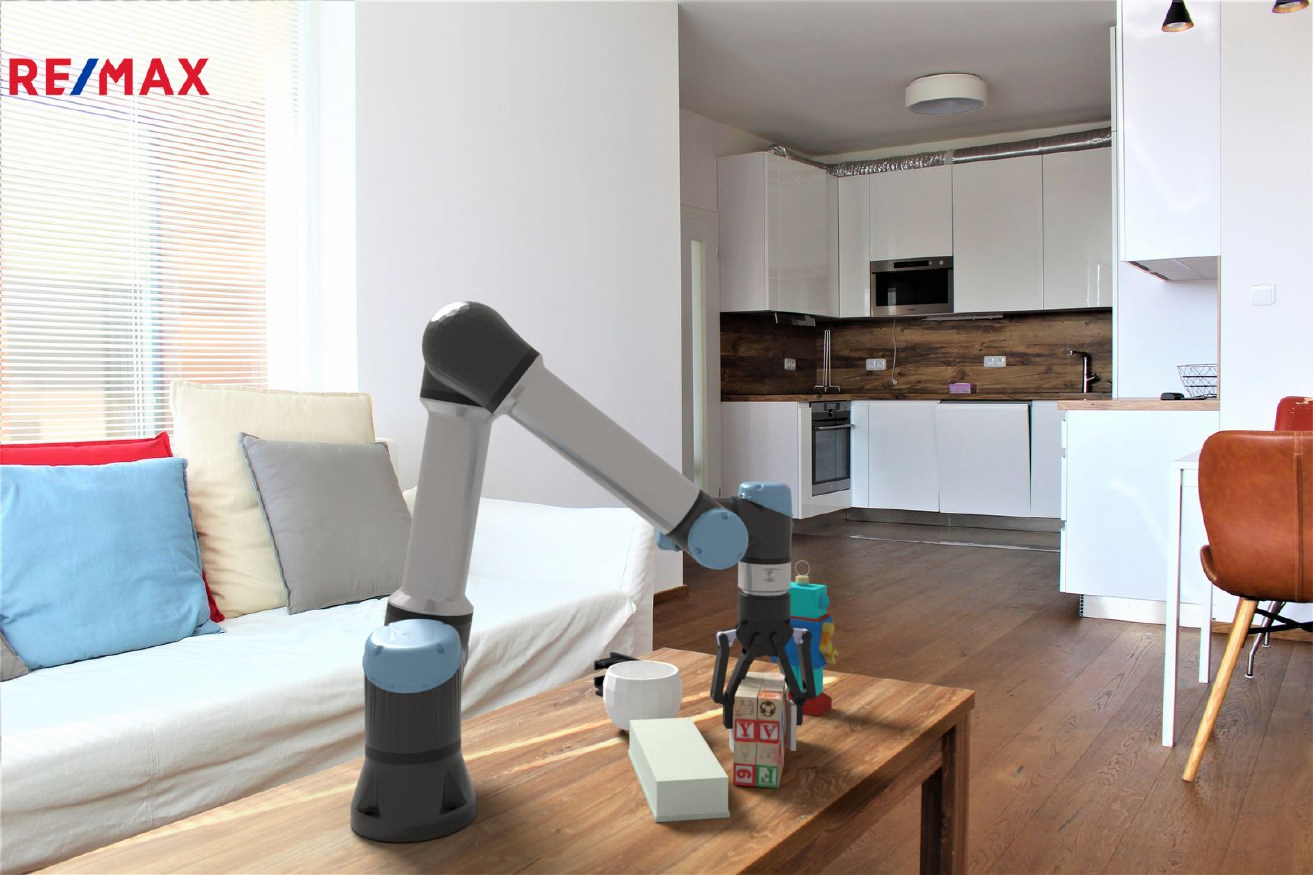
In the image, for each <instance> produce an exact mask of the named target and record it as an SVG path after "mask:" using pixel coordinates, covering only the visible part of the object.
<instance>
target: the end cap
mask: <svg viewBox="0 0 1313 875" xmlns="http://www.w3.org/2000/svg"><path fill="white" fill-rule="evenodd" d="M609 655H610V656H609V657H606V658H602V659H601V658H600V659H598V660H597V659H596V660H594V662H593V671H599V670H604V669H606V671H607V670H608V668H609V667H610V666H612V665H615V664H617V663H622V662H628V661H644V660H643V659H639V658H636V657H634V656H630V655H626V654H622V653H619V652H616V651H610V652H609ZM605 675H606V673H605V674H603V675H598V676H594V677H593V685H594V686H593V687H594V688H596V689H597V690H595V691H594V692H595V695H596V696H600V697H602V698H603V682H604V679H605Z"/></svg>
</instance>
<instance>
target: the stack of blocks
mask: <svg viewBox="0 0 1313 875" xmlns="http://www.w3.org/2000/svg"><path fill="white" fill-rule="evenodd" d="M786 700H789V698H788V688H787V685H786V683H785V676H784V675H783V674H782V673H780V672H779V673H777V672H776V673H775V672H759V671H758V672H757V671H748V672H747V675H746V677H745V679H742V681H741V683H740V684H739V687H738V690H737V692H736V694H735V712H734V715H735V718H734V753H733V762H732V766H733V767H732V772H733V773H732V784H733V785H734V786H747V787H759V788H760V787H761V788H768V789H769V788H771V789H772V788H773V789H778V788H779V787H780V783H781V782H780V781H781V780H782V776H783V774H782V773H783V769H784V759H785V751H786V749H787V746H786Z"/></svg>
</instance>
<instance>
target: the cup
mask: <svg viewBox="0 0 1313 875" xmlns="http://www.w3.org/2000/svg"><path fill="white" fill-rule="evenodd" d="M605 674H606V675H605ZM605 674H604V675H605V679H604V682H603V697H602V699H603V704H604V706H605V710H606V713H607V716H608V718H609V719H610V721H611V722H612V723H613V726H615V727H617V728H618V729H621V730H624V733H625V734H627V735H629V731H630V720H646V719H666V718H678V717H677V716H678V715H679V711H680V709H681V705H682V702H683V681H682V677H681V673H680V669H679V668H678V667H676V665H673V664H671V663H667V662H663V661H656V660H643V661H628V662H622V663H617V664H615V665H612V666H610V667H609V668H608V670H607V669H606V672H605Z"/></svg>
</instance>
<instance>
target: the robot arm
mask: <svg viewBox="0 0 1313 875" xmlns="http://www.w3.org/2000/svg"><path fill="white" fill-rule="evenodd" d="M421 351H422V357H423V361H424V366H423V367H424V368H423V372H422V380H421V386H420V392H419V401H420V403H421V404H422V405H423V406H424V408H425V409H426V411H427V414H428V416H427V422H426V429H425V435H424V443H423V448H422V454H421V460H420V467H419V472H418V473H419V474H418V479H417V480H418V481H417V485H416V492H415V493H416V494H415V498H414V505H413V512H412V518H411V524H410V531H409V538H408V545H407V550H406V556H405V563H404V568H403V569H404V570H403V575H402V580H401V581H402V582H401V586H400V587H399V588H398V589H397V590H396V591H394V592H393V593H392V594H390V595H389V596H388V599H387V604H386V610H385V616H384V622H383V623H384V624H383V626H379V627H378V628H376V629H374V630H373V631H372V632H371V633H369V635H368V637H367V638H366V640H365V643H364V651H363V656H362V661H361V662H362V665H361V666H362V669H363V676H364V677H363V678H364V682H363V686H364V761H363V765H362V768H361V770H360V774H359V778H358V781H357V782H356V786H355V789H354V792H353V796H352V800H351V802H350V827H351V828H352V830H353V831H354V832H355V833H356V834H358V835H360V836H361V837H365V838H367V839H371V840H374V841H381V842H386V843H387V842H388V843H410V842H421V841H427V840H428V841H429V840H432V839H436V838H440V837H444V836H446V835H447V836H448V835H449V834H452V833H455V832H457V831H459V830H462V829H463V828H464V827H466V826H467V825H469V824H470V823H471V822H472V821H473V820H474V818H475V816H476V814H477V813H476V812H477V811H476V810H477V806H476V805H477V796H476V792H475V791H476V790H475V788H474V785H473V782H472V780H471V779H472V778H471V776H470V774H469V770H468V768H467V765H466V762H465V759H464V756H463V750H462V686H463V678H464V672H465V669H466V666H467V662H468V659H469V651H470V649H469V648H470V646H469V644H470V637H471V631H472V623H473V616H474V610H475V608H474V605H473V604H472V602H471V601H470V599H469V598H467V595H466V590H467V584H468V578H469V571H470V565H471V559H472V553H473V552H472V551H473V545H474V539H475V534H476V526H477V522H478V515H479V509H480V508H479V507H480V501H481V496H482V490H483V489H482V488H483V483H484V476H485V471H486V462H487V457H488V450H489V445H490V439H491V438H490V437H491V432H492V426H493V423H494V422H495V421H496V420H497V419H499V417H502V416H508V417H509V418H510V419H512V420H513V421H514V422H516V423H517V424H518V425H520V426H521V427H523V428H524V429H525V430H526V431H528V432H529V433H530V434H532V436H534V437H536V439H538V440H539V441H541V442H542V443H544V444H545V445H546V446H547V447H548V448H549V449H551V450H553V451H554V452H555V453H556V454H558V455H559V456H561V457H562V458H563V459H564V460H566V461H567V462H568V463H569V464H571V465H572V466H574V467H575V468H576V469H577V470H579V471H580V472H582V474H584V475H585V476H587V477H588V478H589V479H590V480H592V481H593V482H594V483H595V484H597V485H598V486H600V487H601V488H602V489H604V490H605V491H606V492H607V493H609V494H610V495H611V496H613V497H614V498H615V499H617V500H618V501H619V502H621V503H622V504H624V505H625V506H626V507H628V509H630V510H631V511H632V512H634V513H635V514H636V515H638V516H639V517H640V518H642V519H643V520H644V521H646V522H647V523H648V524H650V526H652V527H654V528H653V529H654V531H653V532H654V541H655V545H656V547H658V549H659V550H661V551H671V552H672V551H673V552H677V553H679V552H680V551H682V552H683V551H684V552H686V553H687V554H688V555H690V556H691V558H692V559H693V560H695V562H696V563H698V564H700V566H702V567H704V568H708V569H712V570H725V569H729V568H731V567H733V566H735V565H736V564H737V566H738V568H737V569H738V570H737V587H738V588H739V589H741V590H740V591H739V592H738V593H737V621H736V624H735V626H734V628H733V629H731V630H730V629H729V630H726V631H723V630H717V631H716V633H715V639H716V644H717V650H716V654H715V661H714V667H713V674H712V679H711V680H712V681H711V685H710V686H711V687H710V692H709V696H710V698H711V700H712V701H713V702H714V703H715V704H719V705H722V725H723V727H724V728H725V729H726V730H729V733H728V734H729V738H728V739H729V740H728V742H729V743H728V747H729V748H728V749H730V751H731V752H732V753H733V754H734V718H735V715H734V712H735V694H736V692H737V690H738V687H739V684H740V683H741V681H742V679H745V677H746V675H747V672H749V669H750V667H751V665H752V664H753V663H754V661H755V658H761V657H765V656H766V657H770V658H771V657H775V658H776V660H777V665H778V667H779V671H780V670H781V673H782V674H783V675H784V676H785V683H786V685H787V688H788V690H789V693H790V695H791V697H792V700H786V748H788V749H789V751H792V752H793V751H794V752H795V751H797V727H798V726H802V725H803V721H804V714H803V705H805V703H806V701H807V700H809V699H815V697H816V689H815V682H814V675H813V667H812V660H811V653H810V644H811V639H812V633H811V632H810V631H808V630H807V629H806V628H801V629H797V628H793V626H792V625H791V621H790V619H791V595H790V594H789V592H787V590H789V589H790V588H791V582H792V535H793V534H792V533H793V532H792V530H793V518H794V513H793V501H792V500H793V498H792V490H791V488H790V486H789V485H788V484H786V483H783V482H779V481H764V480H762V481H759V480H757V481H743V482H742V483H740V485H739V486H738V492H737V495H732V496H711V495H709V494H708V493H706V492H705V491H703V489H701V488H700V487H699V486H697V484H695V483H694V482H693V481H692V480H690V479H689V478H687V477H686V476H685V475H684V474H682V473H681V472H680V471H678V469H676V468H675V467H673V466H672V465H671V464H670V463H668V462H667V461H666V460H664V459H663V458H662V457H661V456H659V455H658V454H657V453H655V452H654V451H653V450H651V449H650V448H649V447H648V446H646V445H645V444H644V443H642V442H641V441H640V440H639V439H638V438H637V437H635V436H634V435H632V434H631V433H630V432H628V431H627V430H626V429H625V428H623V427H622V426H621V425H620V424H618V423H617V422H616V421H615V420H613V419H612V418H610V416H608V415H607V414H605V413H604V412H603V411H602V410H601V409H599V408H598V407H597V406H595V405H594V404H592V402H590V401H589V400H588V399H586V398H585V397H584V396H582V395H581V394H580V393H579V392H577V391H575V389H574V388H572V387H571V386H570V385H568V384H567V383H566V382H564V381H563V380H562V379H560V378H559V377H558V376H557V375H555V374H554V373H553V372H552V371H550V370H549V369H548V368H546V367H545V364H544V358H543V354H542V353H540V351H538V350H537V349H535V348H534V347H532V346H531V344H530V343H528V342H527V341H526V340H525V339H524V338H522V336H520V334H518V333H517V332H516V331H515V330H514V328H513V327H512V326H511V325H510V324H509V323H508V322H507V321H506V320H505V318H504V316H502V315H501V314H500V313H499V312H498V311H497V310H496V309H493V308H492V307H490V306H489V305H487V304H484V303H481V302H479V301H478V302H477V301H471V300H467V301H466V300H465V301H463V300H462V301H458V302H457V301H456V302H454V303H450V304H449V305H446V306H444V307H443V308H441V309H439V310H438V311H437V312H436V313H435V314H434V315H433V316H432V317H431V319H429V321H428V323H427V325H426V326H425V329H424V332H423V335H422V341H421ZM792 636H794V641H795V642H796V643H797V651H798V658H799V665H800V673H801V680H802V687H803V689H802V690H800V688H799V685H798V683H797V680H796V678H795V675H794V673H793V670H792V668H791V665H790V663H789V660H788V656H787V653H786V651H785V648H784V647H785V645H786V644H787V643H788V641H789V640H790V638H791V637H792ZM735 639H737V641H738V642H739V643H740V644H741V645H742V646H741V648H740V650H739V653H738V657H737V658H738V659H737V661H736V663H735V665H734V669H733V671H732V673H731V675H730V678H729V681H728V682H727V684H726V687H725V683H726V678H727V671H728V664H729V660H730V659H729V658H730V652H731V651H730V649H731V648H730V647H732V646H733V645H734V640H735ZM724 689H725V690H724Z"/></svg>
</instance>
